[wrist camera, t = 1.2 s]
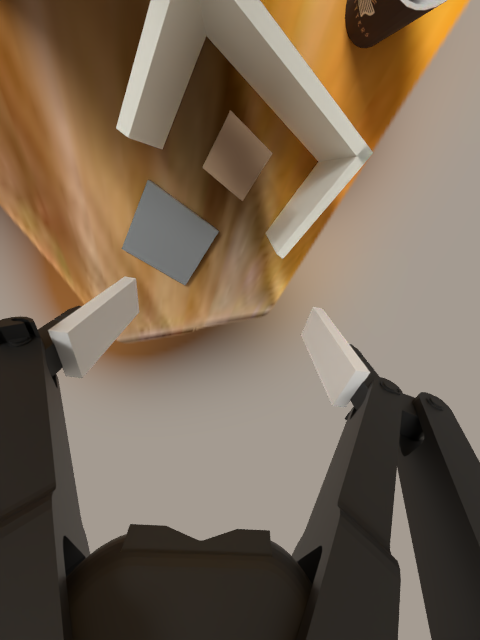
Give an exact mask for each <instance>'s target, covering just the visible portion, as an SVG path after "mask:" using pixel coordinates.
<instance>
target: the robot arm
mask: <svg viewBox="0 0 480 640" xmlns="http://www.w3.org/2000/svg"><path fill="white" fill-rule="evenodd" d="M138 313H139V305H138V295H137V285H136V278H130V277H123V278H122V279H120V280H119V281H118V282H116V283H115V284H113V285H112V286H110V287H109V288H108V289H106V290H105V291H103V292H102V293H100V294H99V295H98V296H96V297H95V298H93V299H92V300H90V301H89V302H88V303H86V304H85V305H83V306H77V307H74V308H72V309H69V310H67V311H66V312H64V313H62V314H61V316H58V317H56V318H55V320H52V321H50V322H49V323H47V324H46V325H44V326H43V327H41V328H40V329H38V330H37V328H36V325H35V323H34V321H33V319H31V318H28V317H11V318H6V319H2V320H0V640H398V622H399V602H400V582H401V579H400V568H399V565H398V561H397V560H396V559H395V558H394V557H393V556H392V555H391V552H390V537H391V526H392V515H393V503H394V492H395V481H396V470H397V468H398V473H399V478H400V482H401V488H402V493H403V498H404V503H405V508H406V513H407V518H408V523H409V528H410V533H411V538H412V543H413V548H414V553H415V558H416V563H417V568H418V573H419V578H420V583H421V588H422V593H423V598H424V603H425V608H426V613H427V618H428V624H429V628H430V633H431V638H432V640H480V462H479V460H478V459H477V457H476V455H475V453H474V451H473V449H472V448H471V446H470V444H469V442H468V440H467V438H466V437H465V435H464V433H463V431H462V429H461V427H460V425H459V424H458V422H457V420H456V418H455V416H454V414H453V412H452V411H451V409H450V408H449V407H448V406H447V405H446V404H445V403H444V402H443V401H442V400H441V399H439V398H438V397H436V396H433V395H431V394H428V393H425V392H421V393H420V394H419V395H418V396H417V397H416V398H414V397H411V396H408V395H405V394H403V393H402V391H401V389H399V387H398V386H397V385H396V384H394V383H393V382H391V381H389V380H387V379H385V378H381V377H379V376H378V374H377V373H376V372H375V371H374V369H373V368H372V367H371V366H370V364H369V363H368V362H367V360H366V359H365V358H364V357H363V355H362V354H361V353H360V351H359V350H358V349H357V348H355V347H354V346H353V345H351V344H349V343H348V342H347V341H346V340H345V338H344V337H343V335H342V334H341V333H340V331H339V330H338V329H337V327H335V325H334V323H333V322H332V321H331V319H330V318H329V317H328V315H327V314H326V313H325V311H324V310H323V309H322V308H317V307H313V308H312V310H311V312H310V315H309V317H308V320H307V322H306V325H305V327H304V329H303V332H302V334H301V337H302V339H303V341H304V343H305V346H306V348H307V350H308V352H309V354H310V357H311V359H312V361H313V363H314V365H315V368H316V370H317V372H318V375H319V377H320V379H321V381H322V384H323V386H324V388H325V390H326V392H327V394H328V397H329V399H330V401H331V404H332V406H339V407H346V405H347V404H348V403H349V401H350V400H351V402H352V404H353V405H354V407H353V408H352V410H351V411H350V412H349V413H348V415H347V416H346V418H345V419H346V420H347V422H346V424H345V427H344V430H343V432H342V435H341V437H340V440H339V443H338V446H337V448H336V451H335V454H334V456H333V458H332V461H331V464H330V466H329V469H328V472H327V474H326V477H325V480H324V482H323V485H322V487H321V490H320V493H319V496H318V498H317V501H316V503H315V506H314V508H313V511H312V514H311V516H310V519H309V522H308V524H307V527H306V529H305V532H304V534H303V536H302V537H301V539H300V541H299V542H298V544H297V546H296V548H295V550H294V552H293V554H292V556H291V555H290V554H289V553H288V552H287V551H285V550H284V549H283V548H282V547H281V546H279V545H277V544H276V543H274V542H272V541H270V531H266V530H245V529H236V530H233V531H230V532H227V533H224V534H221V535H218V536H216V537H212V538H209V539H206V540H204V541H199V540H196V539H194V538H192V537H190V536H187V535H185V534H183V533H181V532H179V531H176V530H174V529H172V528H170V527H167V526H157V525H136V524H130V527H129V529H128V532H127V534H126V535H123V536H120V537H118V538H116V539H113V540H111V541H110V542H108V543H106V544H105V545H103V546H101V547H100V548H98V549H97V550H96V551H94V552H93V553H92V554H90V552H89V547H88V542H87V538H86V534H85V531H84V529H83V525H82V521H81V516H80V510H79V504H78V497H77V492H76V485H75V479H74V473H73V467H72V461H71V454H70V448H69V442H68V436H67V430H66V424H65V418H64V412H63V406H62V399H61V393H60V387H59V381H58V377H57V375H56V373H57V372H58V371H59V370H60V369H61V368H63V370H64V373H65V375H66V376H70V377H78V378H83V376H84V375H85V374H86V373H87V372H88V371H89V370H90V368H91V367H92V366H93V365H94V364H95V363H96V361H97V360H98V359H99V358H100V357H101V356H102V355H103V353H104V352H105V351H106V350H107V349H108V347H109V346H110V345H111V344H112V343H113V342H114V341H115V339H116V338H117V337H118V336H119V335H120V334H121V333H122V331H123V330H124V329H125V328H126V327H127V326H128V324H129V323H130V322H131V321H132V320H133V319H134V317H135V316H136V315H137V314H138Z"/></svg>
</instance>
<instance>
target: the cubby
mask: <svg viewBox="0 0 480 640" xmlns="http://www.w3.org/2000/svg"><path fill="white" fill-rule="evenodd" d="M206 36H207V37H208V38H209V39H210V41H211V42H212V43H213V44H214V45H215V46H216V47H217V48H218V50H219V51H220V52H221V53H222V54H223V55H224V56H225V57H226V59H227V60H228V61H229V62H230V63H231V64H232V65H233V66H234V68H235V69H236V70H237V71H238V72H239V73H240V74H241V75H242V77H243V78H244V79H245V80H246V81H247V82H248V83H249V84H250V86H251V87H252V88H253V89H254V90H255V91H256V92H257V93H258V94H259V96H260V97H261V98H262V99H263V100H264V101H265V102H266V103H267V105H268V106H269V107H270V108H271V109H272V110H273V111H274V112H275V114H276V115H277V116H278V117H279V118H280V119H281V120H282V121H283V123H284V124H285V125H286V126H287V127H288V128H289V129H290V130H291V132H292V133H293V134H294V135H295V136H296V137H297V138H298V139H299V141H300V142H301V143H302V144H303V145H304V146H305V147H306V148H307V149H308V151H309V152H310V153H311V154H312V155H313V156H314V157H315V158H316V160H317V161H318V163H317V164H316V166H315V167H314V168H313V170H312V171H311V172H310V174H309V175H308V176H307V178H306V179H305V180H304V182H303V183H302V184H301V186H300V187H299V188H298V190H297V191H296V192H295V194H294V195H293V196H292V198H291V199H290V200H289V202H288V203H287V204H286V206H285V207H284V208H283V210H282V211H281V212H280V214H279V215H278V217H277V218H276V219H275V221H274V222H273V223H272V225H271V226H270V227H269V229H268V230H267V231H266V233H265V234H266V235H267V237H268V239H269V241H270V243H271V245H272V246H273V248H274V250H275V252H276V254H277V255H279V256H280V257H281V258H282V259H283V258H284V257H285V256H286V255H287V254H288V252H289V251H290V250H291V249H292V248H293V247H294V245H295V244H296V243H297V242H298V241H299V240H300V238H301V237H302V236H303V235H304V234H305V232H306V231H307V230H308V229H309V228H310V227H311V225H312V224H313V223H314V222H315V221H316V220H317V218H318V217H319V216H320V215H321V214H322V213H323V211H324V210H325V209H326V208H327V207H328V206H329V204H330V203H331V202H332V201H333V200H334V198H335V197H336V196H337V195H338V194H339V193H340V191H341V190H342V189H343V188H344V187H345V186H346V184H347V183H348V182H349V181H350V180H351V179H352V177H353V176H354V175H355V174H356V173H357V172H358V170H359V169H360V168H361V167H362V166H363V164H364V163H365V162H366V161H367V160H368V159H369V157H370V156H371V155H372V154H373V152H372V151H371V149H370V148H369V147H368V145H367V144H366V142H365V141H364V140H363V138H362V137H361V136H360V134H359V133H358V132H357V130H356V129H355V128H354V126H353V125H352V124H351V122H350V121H349V120H348V118H347V117H346V116H345V114H344V113H343V111H342V110H341V109H340V107H339V106H338V105H337V103H336V102H335V101H334V99H333V98H332V97H331V95H330V94H329V93H328V91H327V90H326V89H325V87H324V86H323V85H322V83H321V82H320V80H319V79H318V78H317V76H316V75H315V74H314V72H313V71H312V70H311V68H310V67H309V66H308V64H307V63H306V62H305V60H304V59H303V58H302V56H301V55H300V54H299V52H298V51H297V50H296V48H295V47H294V45H293V44H292V43H291V41H290V40H289V39H288V37H287V36H286V35H285V33H284V32H283V31H282V29H281V28H280V27H279V25H278V24H277V23H276V21H275V20H274V19H273V17H272V16H271V14H270V13H269V12H268V10H267V9H266V8H265V6H264V5H263V4H262V2H261V1H260V0H151V1H150V5H149V9H148V12H147V16H146V20H145V23H144V27H143V31H142V34H141V38H140V42H139V45H138V49H137V53H136V56H135V60H134V64H133V67H132V71H131V75H130V78H129V82H128V86H127V90H126V93H125V97H124V101H123V104H122V108H121V112H120V115H119V119H118V123H117V126H116V129H118V130H119V131H120V132H121V133H123V134H124V135H125V136H127V137H128V138H130V139H133V140H136V141H139V142H142V143H145V144H148V145H150V146H153V147H156V148H159V149H162V150H163V147H164V144H165V142H166V139H167V137H168V134H169V131H170V129H171V126H172V124H173V121H174V118H175V116H176V113H177V111H178V108H179V106H180V103H181V100H182V98H183V95H184V93H185V90H186V87H187V85H188V82H189V80H190V77H191V74H192V72H193V69H194V67H195V64H196V61H197V59H198V56H199V54H200V51H201V48H202V46H203V43H204V41H205V38H206Z"/></svg>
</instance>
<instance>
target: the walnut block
mask: <svg viewBox="0 0 480 640" xmlns="http://www.w3.org/2000/svg"><path fill="white" fill-rule="evenodd" d="M272 154H273V153H272V152H271V151H270V150H269V149H268V148H267V147H266V146H265V145H264V144H263V143H262V142H261V141H260V140H259V139H258V138H257V137H256V136H255V135H254V134H253V133H252V132H251V131H250V130H249V129H248V128H247V127H246V126H245V125H244V124H243V123H242V122H241V120H240V119H239V118H238V117H237V116H236V115H235V114H234V113H233V112H232V111H231V110H230V112H229V114H228V116H227V118H226V120H225V122H224V124H223V127H222V129H221V131H220V133H219V135H218V137H217V139H216V141H215V143H214V145H213V147H212V149H211V151H210V153H209V155H208V157H207V159H206V161H205V163H204V165H203V167H202V168H203V169H205V170H206V171H207V172H208V173H209V174H211V175H212V176H213V177H214V178H215V179H216V180H218V181H219V182H220V183H221V184H222V185H224V186H225V187H226V188H227V189H228V190H230V191H231V192H232V193H233V194H234V195H235V196H237V197H238V198H239V199H240V200H241V201H243V200H244V198H245V197H246V195H247V193H248V192H249V190H250V189H251V187H252V185H253V184H254V182H255V181H256V179H257V178H258V176H259V174H260V173H261V171H262V170H263V168H264V166H265V165H266V163H267V162H268V160H269V159H270V157H271V155H272Z"/></svg>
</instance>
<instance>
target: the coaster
mask: <svg viewBox="0 0 480 640" xmlns="http://www.w3.org/2000/svg"><path fill="white" fill-rule="evenodd" d="M218 232H219V230H217V229H216V228H215V227H213V226H212V225H211V224H209V223H208V222H207V221H205V220H204V219H202V218H201V217H200V216H198V215H197V214H196V213H194V212H193V211H192V210H190V209H189V208H188V207H186V206H185V205H183V204H182V203H181V202H179V201H178V200H177V199H175V198H174V197H173V196H171V195H170V194H169V193H167V192H166V191H164V190H163V189H162V188H160V187H159V186H158V185H156V184H155V183H154V182H152V181H151V180H148V181H147V184H146V186H145V189H144V192H143V194H142V197H141V199H140V202H139V205H138V207H137V210H136V213H135V215H134V218H133V221H132V223H131V226H130V228H129V231H128V234H127V236H126V239H125V242H124V244H123V247H122V249H123V250H125V251H126V252H128V253H130V254H132V255H133V256H135V257H137V258H138V259H140V260H142V261H144V262H145V263H147V264H149V265H151V266H152V267H154V268H156V269H158V270H159V271H161V272H163V273H164V274H166V275H168V276H170V277H171V278H173V279H175V280H177V281H178V282H180V283H182V284H184V285H186V284H187V282H188V280H189V279H190V277H191V276H192V274H193V272H194V271H195V269H196V267H197V266H198V264H199V263H200V261H201V259H202V258H203V256H204V255H205V253H206V251H207V250H208V248H209V246H210V245H211V243H212V242H213V240H214V238H215V237H216V235H217V234H218Z"/></svg>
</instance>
